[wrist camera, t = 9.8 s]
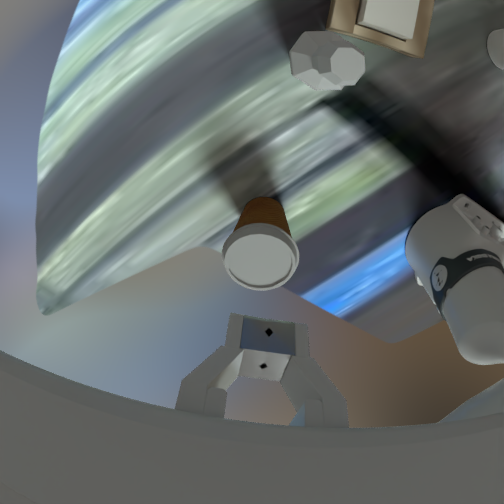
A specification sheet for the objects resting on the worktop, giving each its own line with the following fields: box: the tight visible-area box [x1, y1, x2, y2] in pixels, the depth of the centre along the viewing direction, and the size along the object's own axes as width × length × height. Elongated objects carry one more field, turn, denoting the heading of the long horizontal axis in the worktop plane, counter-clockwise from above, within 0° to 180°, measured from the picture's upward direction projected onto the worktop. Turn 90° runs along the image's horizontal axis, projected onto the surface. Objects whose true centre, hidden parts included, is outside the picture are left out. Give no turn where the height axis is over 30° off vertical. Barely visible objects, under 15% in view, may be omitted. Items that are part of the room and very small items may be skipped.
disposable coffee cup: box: [222, 197, 299, 291], centre depth 43 cm, size 10×10×12 cm
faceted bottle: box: [289, 31, 365, 90], centre depth 25 cm, size 6×6×22 cm
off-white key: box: [355, 0, 420, 40], centre depth 25 cm, size 6×6×4 cm
